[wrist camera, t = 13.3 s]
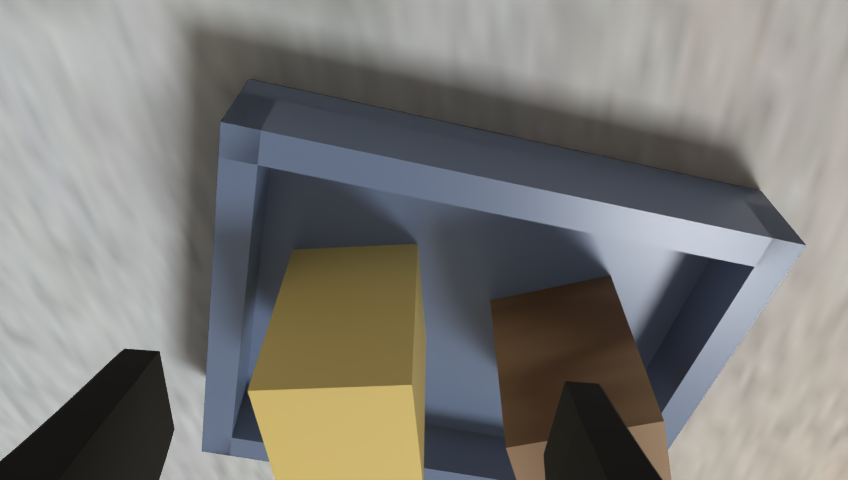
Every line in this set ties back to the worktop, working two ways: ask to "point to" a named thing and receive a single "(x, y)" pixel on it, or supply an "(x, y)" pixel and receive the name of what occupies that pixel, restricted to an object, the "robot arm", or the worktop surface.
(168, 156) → the worktop surface
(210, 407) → the slate blue tray
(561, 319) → the walnut block
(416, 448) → the mustard block
